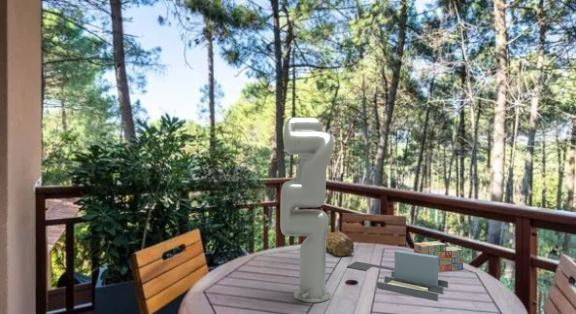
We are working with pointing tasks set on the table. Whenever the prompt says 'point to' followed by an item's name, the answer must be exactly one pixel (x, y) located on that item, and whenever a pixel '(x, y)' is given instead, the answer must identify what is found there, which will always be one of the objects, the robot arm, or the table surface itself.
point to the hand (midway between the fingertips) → (306, 199)
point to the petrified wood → (339, 244)
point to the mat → (366, 266)
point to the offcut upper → (408, 286)
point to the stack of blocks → (442, 255)
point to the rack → (413, 291)
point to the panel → (416, 267)
